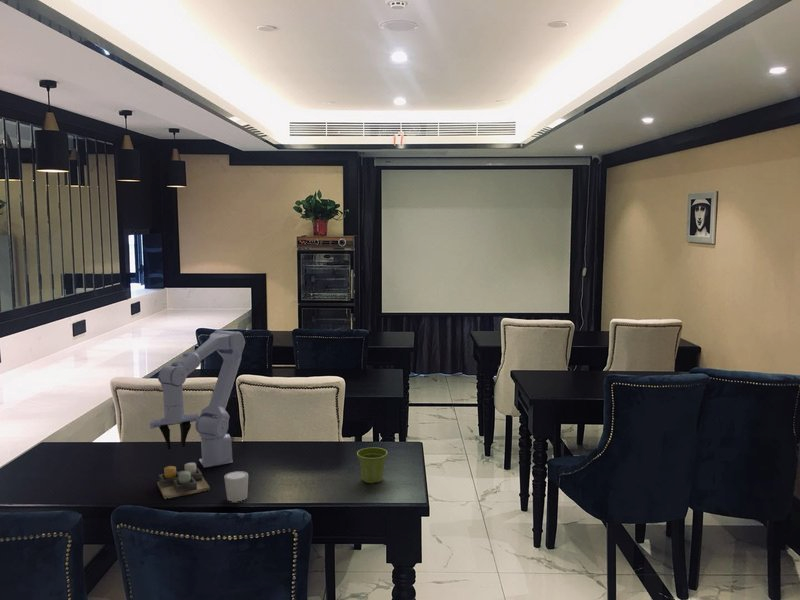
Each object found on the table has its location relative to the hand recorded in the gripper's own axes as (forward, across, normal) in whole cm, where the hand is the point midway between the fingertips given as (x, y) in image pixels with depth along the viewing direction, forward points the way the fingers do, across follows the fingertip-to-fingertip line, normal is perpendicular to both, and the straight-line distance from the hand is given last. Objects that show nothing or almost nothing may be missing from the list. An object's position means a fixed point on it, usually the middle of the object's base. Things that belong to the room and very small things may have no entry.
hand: (176, 447), depth 214 cm
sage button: (+7, 0, +12) cm, 14 cm away
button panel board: (+10, 0, +9) cm, 13 cm away
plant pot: (+10, -51, +33) cm, 62 cm away
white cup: (+10, -11, +25) cm, 29 cm away
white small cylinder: (+7, -3, +6) cm, 10 cm away
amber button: (+7, +3, +5) cm, 10 cm away
